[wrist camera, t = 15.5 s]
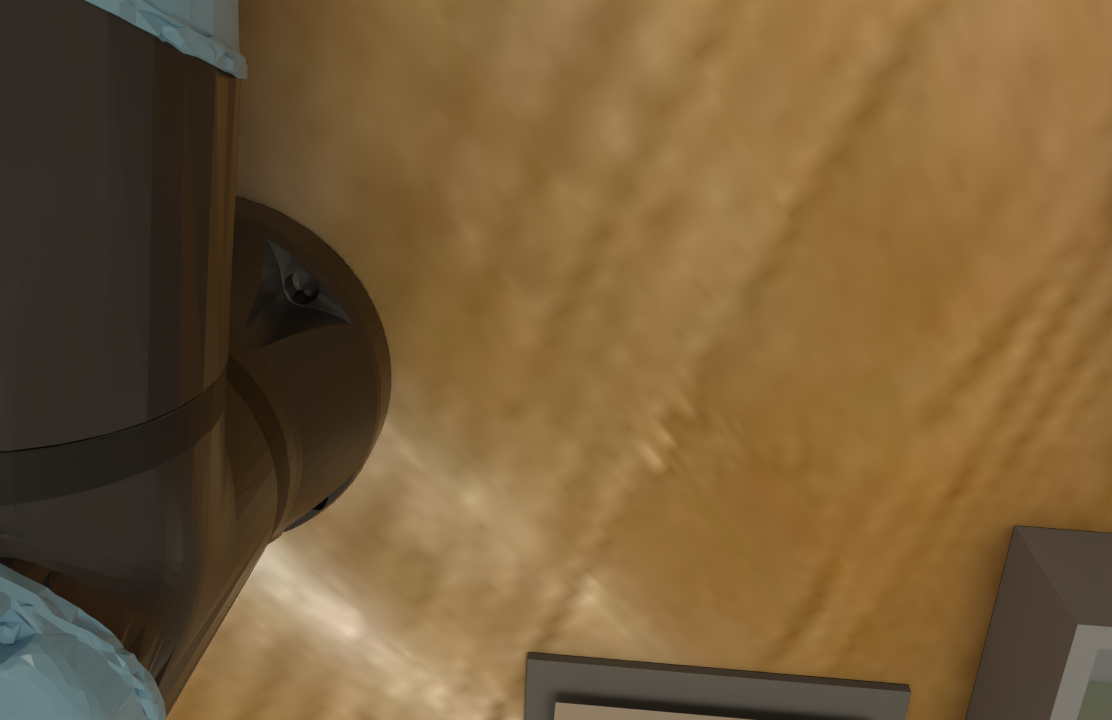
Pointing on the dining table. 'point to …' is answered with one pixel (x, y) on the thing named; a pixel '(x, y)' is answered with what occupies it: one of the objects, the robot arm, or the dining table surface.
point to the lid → (621, 714)
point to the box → (1049, 631)
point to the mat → (704, 691)
